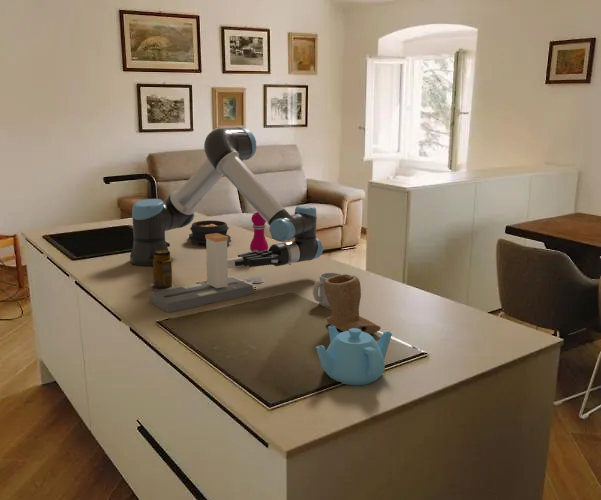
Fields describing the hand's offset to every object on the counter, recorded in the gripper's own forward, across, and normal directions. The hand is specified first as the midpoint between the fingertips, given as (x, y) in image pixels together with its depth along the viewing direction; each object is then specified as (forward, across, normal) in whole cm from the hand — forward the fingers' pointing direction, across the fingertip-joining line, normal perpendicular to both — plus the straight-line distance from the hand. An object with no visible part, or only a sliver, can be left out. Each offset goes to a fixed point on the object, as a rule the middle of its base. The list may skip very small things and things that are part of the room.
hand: (224, 264), depth 189 cm
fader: (+2, +1, -7) cm, 7 cm away
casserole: (-35, +68, -10) cm, 77 cm away
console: (+8, +1, -10) cm, 13 cm away
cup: (-20, -27, -10) cm, 35 cm away
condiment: (+12, +19, -10) cm, 25 cm away
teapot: (+8, -67, -10) cm, 68 cm away
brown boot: (-10, -46, -10) cm, 49 cm away
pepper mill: (-36, +32, -10) cm, 49 cm away
